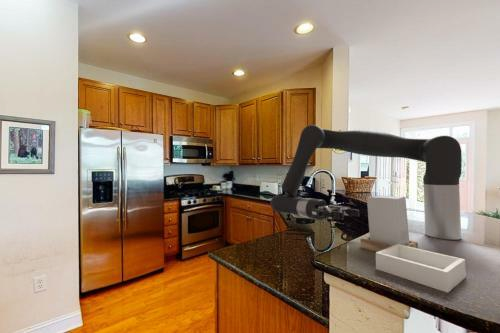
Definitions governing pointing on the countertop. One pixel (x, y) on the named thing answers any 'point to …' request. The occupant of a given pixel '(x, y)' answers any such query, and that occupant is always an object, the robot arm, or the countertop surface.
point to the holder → (380, 244)
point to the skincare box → (388, 219)
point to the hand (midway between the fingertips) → (351, 214)
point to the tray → (422, 266)
